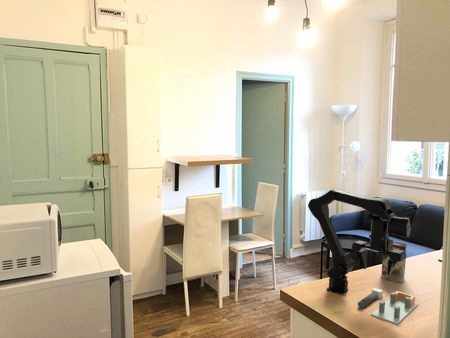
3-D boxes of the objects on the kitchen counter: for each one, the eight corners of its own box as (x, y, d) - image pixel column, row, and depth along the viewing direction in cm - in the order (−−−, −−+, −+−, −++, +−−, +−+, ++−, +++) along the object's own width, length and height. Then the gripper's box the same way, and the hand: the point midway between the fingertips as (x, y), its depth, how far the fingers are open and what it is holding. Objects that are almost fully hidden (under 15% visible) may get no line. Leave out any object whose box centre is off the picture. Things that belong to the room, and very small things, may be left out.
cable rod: (355, 307, 136) (355, 301, 136) (374, 293, 148) (374, 287, 148) (363, 310, 134) (364, 304, 134) (382, 296, 146) (382, 290, 146)
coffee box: (380, 278, 164) (382, 243, 163) (382, 273, 170) (385, 239, 168) (403, 283, 160) (405, 246, 158) (404, 278, 165) (407, 243, 163)
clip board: (371, 315, 130) (371, 304, 130) (393, 297, 145) (393, 287, 145) (397, 324, 124) (398, 313, 124) (417, 304, 139) (418, 294, 139)
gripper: (413, 233, 138) (410, 274, 139) (365, 224, 151) (363, 261, 153) (401, 239, 130) (398, 281, 131) (351, 228, 144) (349, 267, 145)
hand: (376, 272), depth 140 cm, fingers open, 9 cm apart
